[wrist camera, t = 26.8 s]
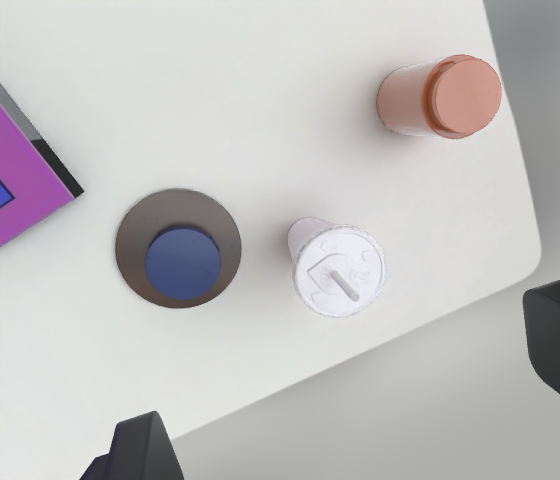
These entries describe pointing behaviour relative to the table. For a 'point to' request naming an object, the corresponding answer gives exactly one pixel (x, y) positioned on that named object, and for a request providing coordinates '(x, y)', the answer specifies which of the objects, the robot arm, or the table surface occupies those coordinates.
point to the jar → (440, 97)
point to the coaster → (171, 212)
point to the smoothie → (335, 267)
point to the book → (28, 174)
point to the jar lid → (183, 262)
